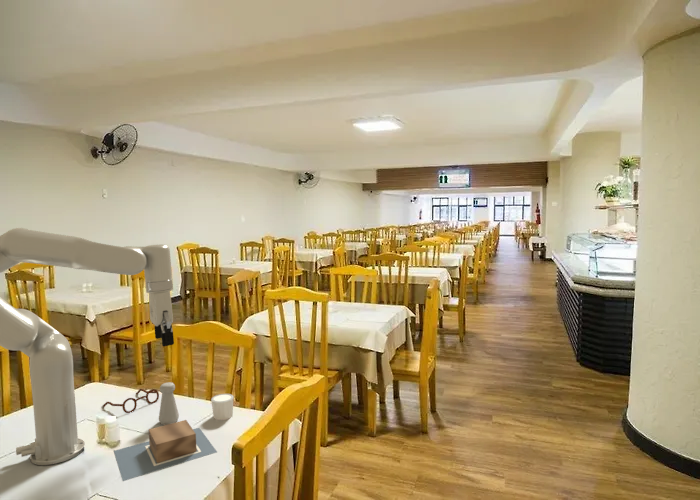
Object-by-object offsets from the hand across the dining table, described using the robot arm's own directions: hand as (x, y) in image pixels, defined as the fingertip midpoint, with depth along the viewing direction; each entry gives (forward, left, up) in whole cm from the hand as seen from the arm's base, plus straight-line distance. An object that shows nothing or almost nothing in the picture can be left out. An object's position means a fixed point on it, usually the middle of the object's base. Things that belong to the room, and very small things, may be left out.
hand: (164, 341), depth 140 cm
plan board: (-5, -18, -26) cm, 32 cm away
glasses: (-7, +24, -27) cm, 37 cm away
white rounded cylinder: (+15, -6, -27) cm, 31 cm away
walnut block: (-3, -18, -25) cm, 31 cm away
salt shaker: (0, 0, -27) cm, 27 cm away
